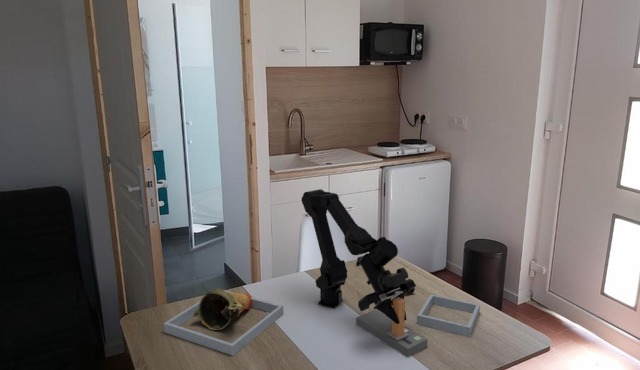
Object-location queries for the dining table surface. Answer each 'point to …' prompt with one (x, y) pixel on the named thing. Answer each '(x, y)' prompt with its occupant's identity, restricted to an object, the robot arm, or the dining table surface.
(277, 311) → the tray
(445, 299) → the tray
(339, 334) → the dining table surface
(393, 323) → the handle
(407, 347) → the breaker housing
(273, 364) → the dining table surface
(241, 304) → the pot
